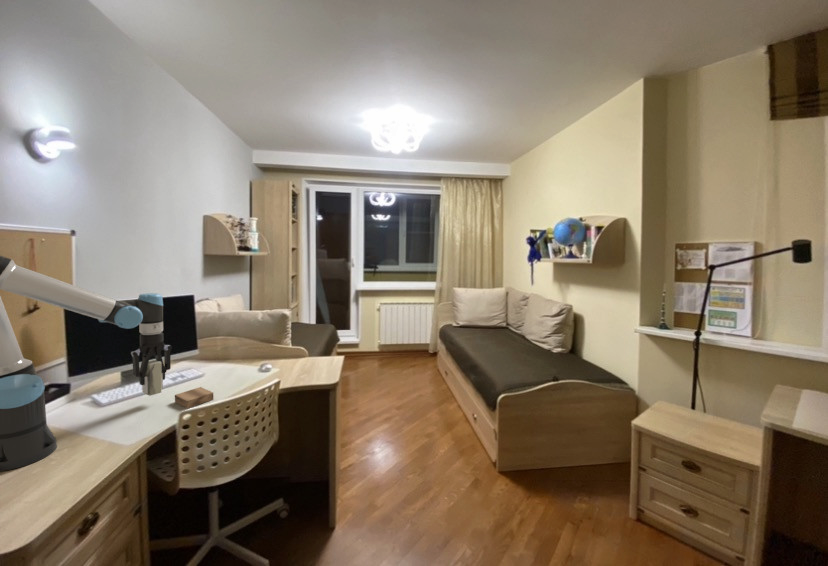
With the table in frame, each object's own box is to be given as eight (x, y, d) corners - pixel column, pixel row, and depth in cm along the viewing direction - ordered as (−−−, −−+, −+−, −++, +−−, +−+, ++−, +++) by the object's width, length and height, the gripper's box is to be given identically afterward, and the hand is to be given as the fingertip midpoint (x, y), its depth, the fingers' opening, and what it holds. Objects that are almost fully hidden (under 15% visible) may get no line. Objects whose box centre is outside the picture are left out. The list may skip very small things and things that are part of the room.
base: (187, 408, 137) (187, 401, 137) (175, 402, 142) (174, 394, 142) (213, 399, 146) (213, 392, 145) (200, 393, 151) (200, 386, 150)
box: (143, 393, 139) (142, 361, 138) (155, 389, 143) (154, 359, 142) (150, 396, 137) (149, 364, 136) (162, 392, 141) (161, 361, 139)
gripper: (128, 338, 128) (130, 399, 130) (180, 330, 143) (181, 385, 145) (120, 335, 132) (121, 394, 134) (171, 327, 147) (172, 381, 149)
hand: (152, 390), depth 140 cm, fingers closed on box, 4 cm apart
